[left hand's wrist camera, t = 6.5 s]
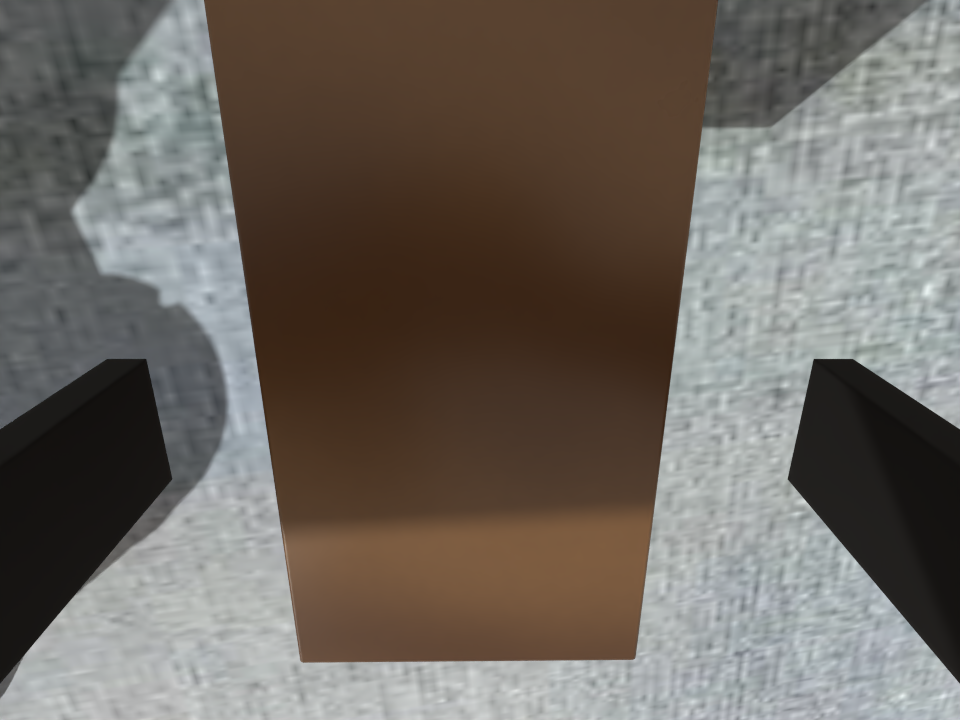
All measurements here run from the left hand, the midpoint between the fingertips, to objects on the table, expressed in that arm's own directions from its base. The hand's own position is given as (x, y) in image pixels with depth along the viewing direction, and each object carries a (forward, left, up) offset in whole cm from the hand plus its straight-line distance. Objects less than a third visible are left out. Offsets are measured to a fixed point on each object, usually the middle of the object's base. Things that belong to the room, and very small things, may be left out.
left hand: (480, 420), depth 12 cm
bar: (+10, +10, -5) cm, 15 cm away
